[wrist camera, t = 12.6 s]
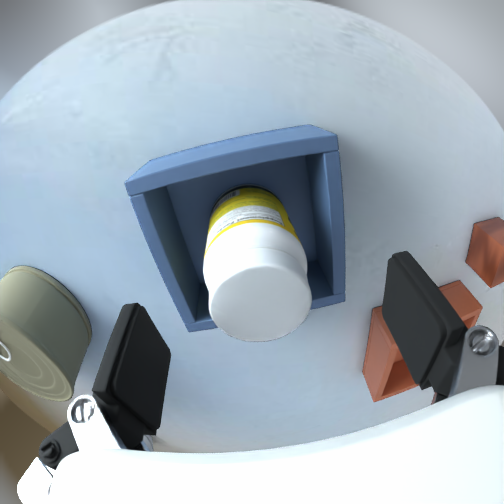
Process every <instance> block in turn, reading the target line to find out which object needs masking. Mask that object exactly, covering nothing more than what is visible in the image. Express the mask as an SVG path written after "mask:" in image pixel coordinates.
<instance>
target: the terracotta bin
mask: <svg viewBox="0 0 504 504" xmlns="http://www.w3.org/2000/svg"><path fill="white" fill-rule="evenodd" d="M439 289H440V291H441V292H442V293H443V295H444V296H445V297H446V299H447V300H448V301H449V303H450V304H451V305H452V307H453V308H454V309H455V311H456V312H457V314H458V315H459V316H460V318H461V319H462V321H463V322H464V324H465V325H466V327H467V328H468V329H469V328H471V327H473V326H475V324H476V321H477V319H478V317H479V315H480V313H481V310H482V308H483V307H482V306H481V304H480V303H479V302H478V301H477V300H476V298H475V297H474V296H473V295H472V294H471V292H470V291H469V290H468V289H467V288H466V287H465V286H464V284H463V283H462V282H461V281H460V280H458V281H456V282H453V283H450V284H447V285H445V286H442V287H439ZM362 372H363V375H364V378H365V380H366V383H367V385H368V388H369V391H370V393H371V396H372V399H373V402H377V401H379V400H382V399H385V398H388V397H391V396H393V395H396V394H399V393H401V392H404V391H406V390H409V389H411V388H414V387H416V386H419V384H418V385H417V384H415V382H414V381H413V378H412V376H411V374H410V372H409V370H408V367H407V365H406V363H405V361H404V359H403V357H402V355H401V353H400V351H399V348H398V346H397V344H396V342H395V340H394V338H393V336H392V334H391V332H390V330H389V328H388V326H387V325H386V323H385V321H384V319H383V316H382V306H380V307H376V308H373V310H372V318H371V325H370V332H369V338H368V344H367V350H366V356H365V361H364V366H363V371H362Z"/></svg>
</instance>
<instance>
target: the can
mask: <svg viewBox="0 0 504 504" xmlns="http://www.w3.org/2000/svg"><path fill="white" fill-rule="evenodd" d="M91 337H92V330H91V325H90V322H89V319H88V317H87V315H86V313H85V311H84V310H83V308H82V307H81V305H80V304H79V302H78V301H77V300H76V299H75V297H74V296H73V295H72V294H71V293H70V292H69V291H68V290H67V289H66V288H65V287H64V286H63V285H62V284H60V283H59V282H58V281H57V280H55V279H54V278H52V277H51V276H50V275H48V274H46V273H44V272H42V271H40V270H38V269H36V268H33V267H28V266H16V267H14V268H12V269H10V270H9V271H8V272H7V273H6V275H5V276H4V277H3V278H2V280H1V281H0V371H1V372H2V373H3V374H4V375H5V376H6V377H8V378H9V379H10V380H11V381H13V382H14V383H16V384H17V385H19V386H20V387H22V388H23V389H25V390H27V391H29V392H31V393H33V394H35V395H37V396H39V397H42V398H45V399H48V400H52V401H59V402H62V401H67V400H69V399H71V398H72V396H73V393H74V385H75V381H76V378H77V376H78V373H79V370H80V367H81V364H82V362H83V359H84V356H85V354H86V351H87V348H88V346H89V344H90V341H91Z"/></svg>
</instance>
